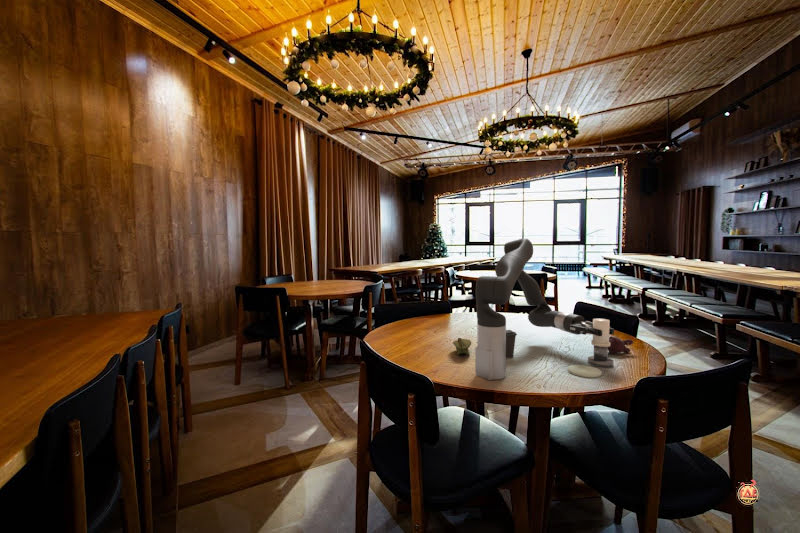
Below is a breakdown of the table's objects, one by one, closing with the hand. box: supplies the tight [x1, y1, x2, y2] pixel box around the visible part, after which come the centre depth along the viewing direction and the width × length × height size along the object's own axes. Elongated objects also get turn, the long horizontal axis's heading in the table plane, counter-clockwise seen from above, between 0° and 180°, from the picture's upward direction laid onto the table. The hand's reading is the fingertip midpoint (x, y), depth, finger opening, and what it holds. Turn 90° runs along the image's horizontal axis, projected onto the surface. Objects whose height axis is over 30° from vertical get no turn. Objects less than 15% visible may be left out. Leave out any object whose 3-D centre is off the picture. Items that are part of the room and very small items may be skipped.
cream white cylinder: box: [591, 318, 611, 347], centre depth 124 cm, size 6×6×9 cm
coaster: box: [567, 364, 602, 379], centre depth 117 cm, size 10×10×1 cm
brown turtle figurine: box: [608, 335, 634, 355], centre depth 136 cm, size 7×7×15 cm
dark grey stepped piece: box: [587, 345, 614, 368], centre depth 125 cm, size 8×8×7 cm
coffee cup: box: [506, 329, 518, 359], centre depth 135 cm, size 8×8×10 cm
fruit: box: [452, 337, 472, 356], centre depth 138 cm, size 11×12×7 cm
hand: (607, 332), depth 122 cm, fingers closed on cream white cylinder, 5 cm apart
